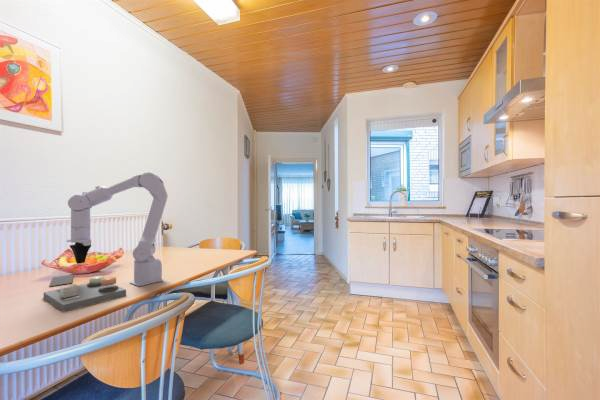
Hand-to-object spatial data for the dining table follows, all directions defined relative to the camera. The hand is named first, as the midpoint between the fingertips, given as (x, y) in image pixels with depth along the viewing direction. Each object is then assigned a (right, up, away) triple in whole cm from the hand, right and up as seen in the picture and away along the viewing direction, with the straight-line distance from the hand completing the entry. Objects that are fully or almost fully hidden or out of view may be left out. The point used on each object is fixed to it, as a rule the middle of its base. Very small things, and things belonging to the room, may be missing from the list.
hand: (80, 263), depth 102 cm
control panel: (+9, -9, -9) cm, 16 cm away
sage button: (+8, -7, -2) cm, 11 cm away
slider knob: (+8, -7, -15) cm, 18 cm away
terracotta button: (+16, -5, -8) cm, 19 cm away
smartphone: (-15, -10, +9) cm, 20 cm away
